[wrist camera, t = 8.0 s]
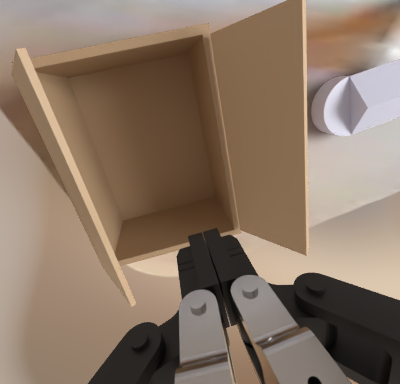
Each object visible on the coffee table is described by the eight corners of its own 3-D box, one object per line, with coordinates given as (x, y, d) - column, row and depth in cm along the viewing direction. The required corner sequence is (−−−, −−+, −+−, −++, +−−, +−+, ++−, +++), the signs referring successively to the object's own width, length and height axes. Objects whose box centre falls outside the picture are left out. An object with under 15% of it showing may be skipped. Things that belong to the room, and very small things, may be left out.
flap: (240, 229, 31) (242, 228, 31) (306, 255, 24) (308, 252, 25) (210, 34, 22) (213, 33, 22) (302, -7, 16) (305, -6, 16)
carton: (61, 73, 32) (10, 62, 21) (191, 46, 33) (209, 22, 22) (120, 223, 41) (107, 269, 30) (219, 197, 43) (240, 233, 32)
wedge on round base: (382, 61, 39) (308, 86, 38) (424, 54, 32) (337, 85, 32) (380, 116, 42) (313, 139, 42) (418, 119, 36) (340, 147, 36)
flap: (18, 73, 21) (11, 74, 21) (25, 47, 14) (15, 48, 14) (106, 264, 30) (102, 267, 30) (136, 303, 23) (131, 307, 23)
